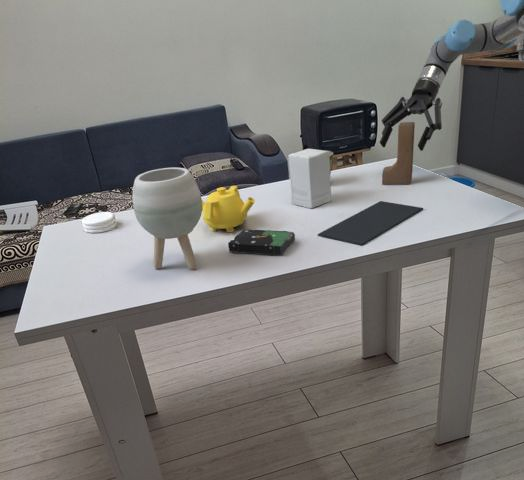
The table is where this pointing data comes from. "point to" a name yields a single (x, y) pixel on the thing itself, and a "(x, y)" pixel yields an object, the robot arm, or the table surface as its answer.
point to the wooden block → (401, 157)
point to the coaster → (99, 222)
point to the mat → (370, 222)
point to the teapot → (225, 209)
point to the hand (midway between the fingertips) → (400, 146)
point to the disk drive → (262, 242)
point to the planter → (168, 209)
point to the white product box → (310, 177)
